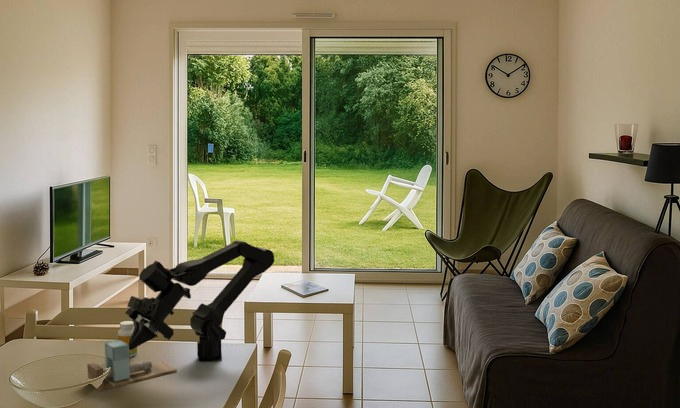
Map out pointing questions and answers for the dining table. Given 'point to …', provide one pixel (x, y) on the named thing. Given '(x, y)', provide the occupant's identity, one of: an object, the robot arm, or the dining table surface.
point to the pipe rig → (136, 373)
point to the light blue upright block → (117, 359)
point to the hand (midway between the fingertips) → (128, 348)
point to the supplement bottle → (127, 335)
